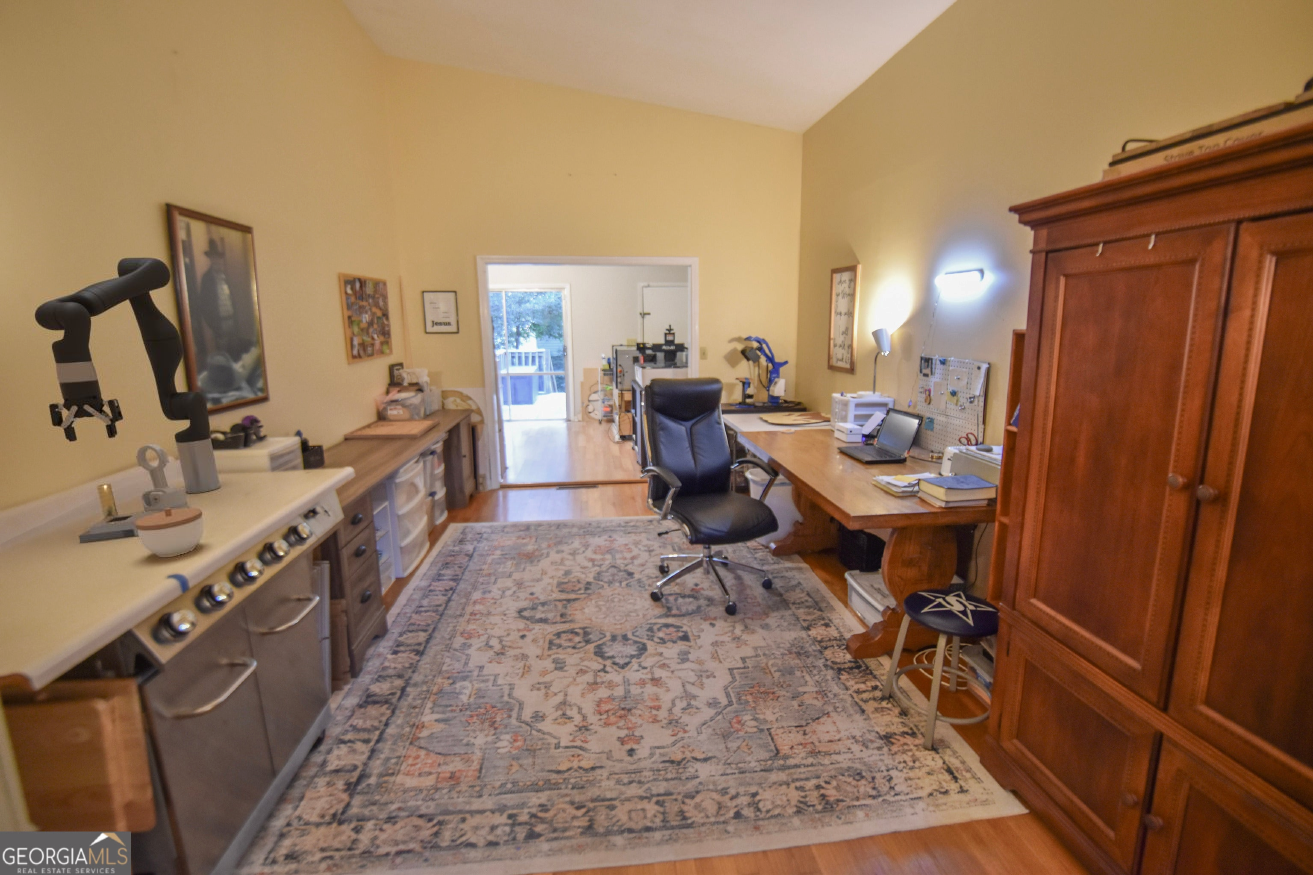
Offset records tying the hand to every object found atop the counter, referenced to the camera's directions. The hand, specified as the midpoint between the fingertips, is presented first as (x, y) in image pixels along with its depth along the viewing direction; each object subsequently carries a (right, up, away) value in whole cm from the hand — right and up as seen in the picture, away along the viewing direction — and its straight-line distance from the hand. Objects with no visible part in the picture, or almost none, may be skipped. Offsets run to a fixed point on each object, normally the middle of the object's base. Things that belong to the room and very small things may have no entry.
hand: (92, 439), depth 160 cm
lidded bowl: (+36, -28, -16) cm, 48 cm away
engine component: (+5, -22, +18) cm, 29 cm away
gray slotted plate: (+12, -25, 0) cm, 28 cm away
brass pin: (+1, -24, +5) cm, 25 cm away
